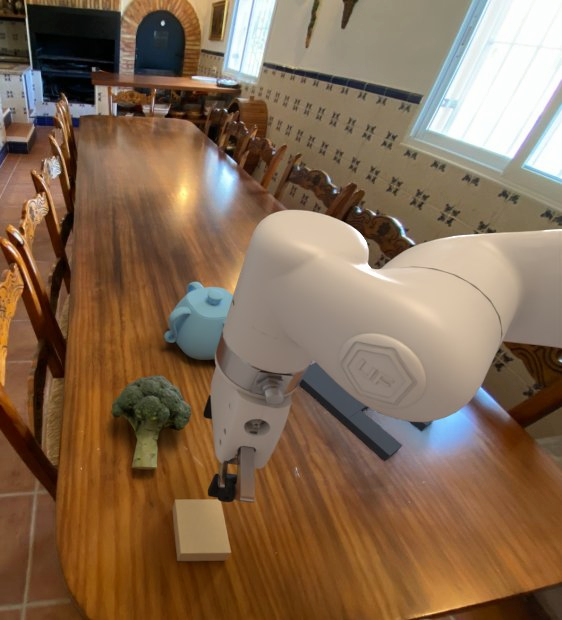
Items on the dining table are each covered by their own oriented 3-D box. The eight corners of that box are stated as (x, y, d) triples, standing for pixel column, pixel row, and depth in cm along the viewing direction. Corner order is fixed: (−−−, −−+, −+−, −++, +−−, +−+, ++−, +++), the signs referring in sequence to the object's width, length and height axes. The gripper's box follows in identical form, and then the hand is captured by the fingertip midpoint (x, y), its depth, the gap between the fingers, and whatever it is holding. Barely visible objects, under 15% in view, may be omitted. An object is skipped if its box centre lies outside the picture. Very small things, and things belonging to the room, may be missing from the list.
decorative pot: (224, 382, 72) (241, 333, 63) (154, 348, 77) (161, 299, 69) (248, 335, 83) (266, 288, 74) (186, 309, 88) (195, 262, 80)
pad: (225, 560, 48) (231, 552, 46) (177, 561, 48) (180, 553, 46) (215, 508, 53) (220, 499, 51) (172, 508, 53) (174, 499, 51)
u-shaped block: (432, 422, 68) (437, 416, 66) (384, 461, 61) (390, 455, 60) (340, 352, 80) (343, 347, 79) (292, 378, 74) (295, 372, 72)
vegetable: (87, 458, 55) (108, 365, 61) (140, 469, 63) (154, 386, 69) (147, 470, 47) (164, 362, 53) (198, 481, 55) (208, 386, 61)
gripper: (337, 453, 24) (262, 539, 35) (282, 298, 38) (240, 396, 49) (227, 439, 25) (187, 529, 36) (211, 290, 38) (186, 389, 49)
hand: (218, 452), depth 42 cm, fingers open, 9 cm apart
